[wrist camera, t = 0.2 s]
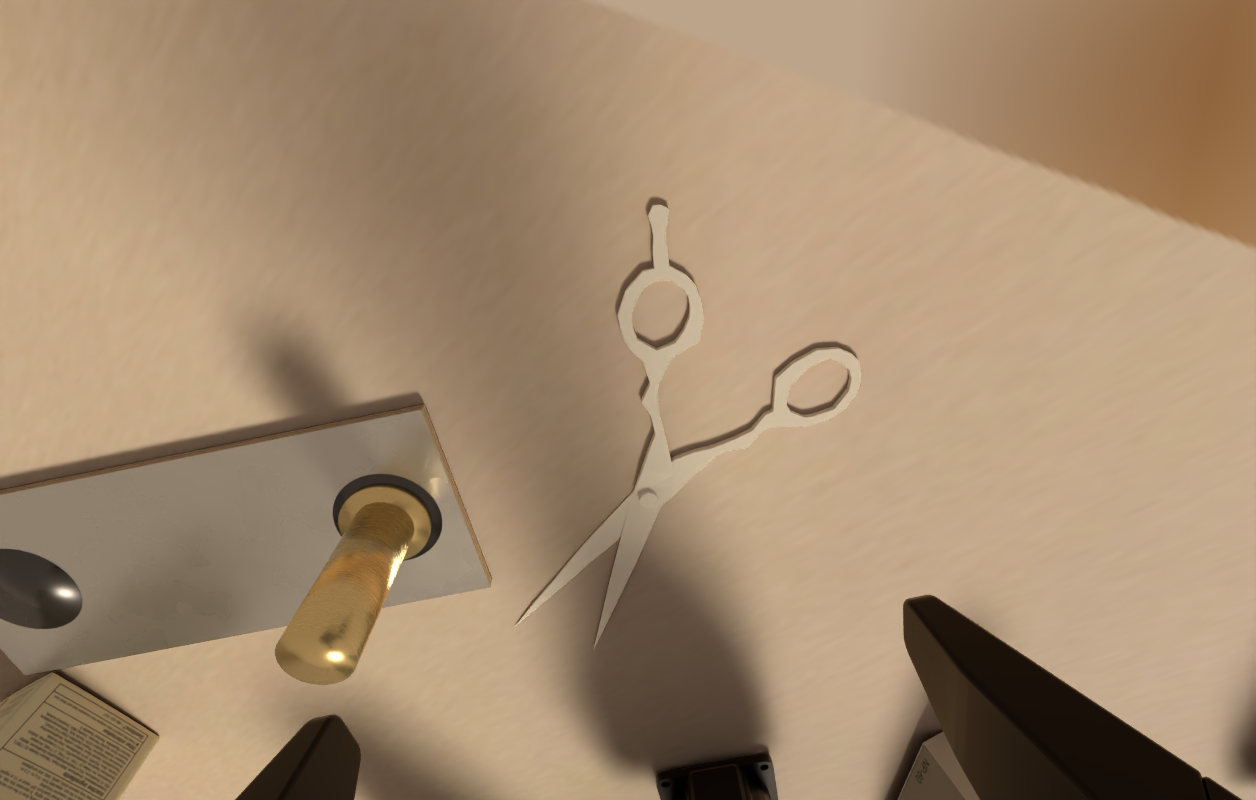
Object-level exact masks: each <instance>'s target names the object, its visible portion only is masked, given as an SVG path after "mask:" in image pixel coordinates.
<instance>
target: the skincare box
mask: <svg viewBox="0 0 1256 800" xmlns="http://www.w3.org/2000/svg"><path fill="white" fill-rule="evenodd" d="M158 740H159V737H158V736H157V735H156V734H154V733H153V732H151V731H149V730H148V729H146V728H145V727H143V726H142V725H140V724H138V723H137V722H135V721H133V720H132V719H130V718H129V717H127V716H125V715H124V714H122V713H120V712H119V711H117V710H115V709H114V708H112V707H110V706H109V705H107V704H105V703H104V702H102V701H101V700H99V699H97V698H96V697H94V696H92V695H91V694H89V693H88V692H86V691H84V690H83V689H81V688H79V687H77V686H76V685H74V684H72V683H70V682H69V681H67V680H65V679H64V678H62V677H60V676H58V675H57V674H55V673H49V674H47V675H45V676H43V677H42V678H40V679H38V680H36V681H34V682H33V683H31V684H29V685H27V686H26V687H24V688H22V689H21V690H19V691H17V692H16V693H14V694H12V695H11V696H9V697H8V698H6V699H5V700H3V701H2V702H0V800H119V799H120V797H121V796H122V794H123V793H124V791H125V790H126V788H127V786H128V785H129V783H130V782H131V780H132V779H133V777H134V776H135V774H136V773H137V771H138V770H139V768H140V767H141V765H142V764H143V762H144V761H145V760H146V758H147V756H148V755H149V753H150V752H151V750H152V749H153V748H154V746H155V745H156V743H157V742H158Z"/></svg>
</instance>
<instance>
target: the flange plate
mask: <svg viewBox="0 0 1256 800" xmlns="http://www.w3.org/2000/svg"><path fill="white" fill-rule="evenodd" d="M373 483H391V484H396V485H399V486H402V487H405V488H407V489H409V490H411V491H412V492H414V493H415V494H417V495H418V496H419V497H420V498H421V499H422V500H423V501H424V502H425V503H426V505H427V506H428V508H429V510H430V513H431V516H432V530H431V533H430V536H429V538H428V541H427V543H426V545H425V546H424V547H423V549H422V550H421V551H420V552H419V553H417V554H416V555H414V556H412V557H410V558H408V559H405V560H403V561H402V563H401V565H400V568H399V570H398V572H397V574H396V577H395V579H394V581H393V584H392V586H391V588H390V590H389V593H388V595H387V597H386V600H385V602H384V604H383V606H382V608H384V607H389V606H395V605H400V604H405V603H410V602H416V601H421V600H426V599H431V598H437V597H442V596H447V595H453V594H458V593H463V592H468V591H474V590H479V589H484V588H489V587H491V582H492V578H491V575H490V573H489V570H488V568H487V565H486V562H485V560H484V557H483V555H482V552H481V549H480V547H479V544H478V542H477V539H476V536H475V534H474V531H473V529H472V526H471V524H470V521H469V518H468V516H467V513H466V511H465V508H464V505H463V503H462V500H461V498H460V495H459V492H458V490H457V487H456V485H455V482H454V480H453V477H452V474H451V472H450V469H449V467H448V464H447V461H446V459H445V456H444V454H443V451H442V448H441V446H440V443H439V441H438V438H437V435H436V433H435V430H434V428H433V425H432V423H431V420H430V417H429V415H428V412H427V410H426V407H425V404H422V405H418V406H413V407H408V408H403V409H398V410H393V411H388V412H383V413H378V414H373V415H368V416H363V417H358V418H353V419H349V420H344V421H339V422H334V423H329V424H324V425H319V426H314V427H309V428H304V429H299V430H294V431H289V432H284V433H280V434H275V435H270V436H265V437H260V438H255V439H250V440H245V441H240V442H235V443H230V444H225V445H220V446H215V447H211V448H206V449H201V450H196V451H191V452H186V453H181V454H176V455H171V456H166V457H161V458H156V459H151V460H146V461H142V462H137V463H132V464H127V465H122V466H117V467H112V468H107V469H102V470H97V471H92V472H87V473H82V474H77V475H73V476H68V477H63V478H58V479H53V480H48V481H43V482H38V483H33V484H28V485H23V486H18V487H13V488H8V489H4V490H0V649H1V650H2V651H3V652H4V654H5V655H6V656H7V657H8V658H9V659H10V660H11V661H12V662H13V663H14V664H15V666H16V667H17V668H18V669H19V670H20V671H21V672H22V673H23V674H24V675H25V676H26V675H31V674H36V673H41V672H47V671H52V670H57V669H62V668H68V667H73V666H78V665H83V664H89V663H94V662H99V661H105V660H110V659H115V658H120V657H126V656H131V655H136V654H141V653H147V652H152V651H157V650H163V649H168V648H173V647H178V646H184V645H189V644H194V643H199V642H205V641H210V640H215V639H221V638H226V637H231V636H236V635H242V634H247V633H252V632H257V631H263V630H268V629H273V628H279V627H284V626H288V625H289V623H290V622H291V620H292V618H293V617H294V615H295V613H296V612H297V610H298V609H299V607H300V605H301V604H302V602H303V600H304V599H305V597H306V595H307V594H308V592H309V590H310V589H311V587H312V586H313V584H314V582H315V581H316V579H317V577H318V576H319V574H320V572H321V571H322V569H323V567H324V566H325V564H326V563H327V561H328V559H329V558H330V556H331V554H332V553H333V551H334V549H335V548H336V546H337V544H338V543H339V541H340V540H341V538H342V535H341V532H340V529H339V525H338V517H339V512H340V510H341V508H342V506H343V505H344V503H345V502H346V500H347V499H348V497H349V496H350V495H351V494H352V493H353V492H354V491H355V490H357V489H359V488H360V487H363V486H365V485H369V484H373Z"/></svg>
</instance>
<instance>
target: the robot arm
mask: <svg viewBox="0 0 1256 800" xmlns="http://www.w3.org/2000/svg"><path fill="white" fill-rule="evenodd" d="M903 626H904V641H905V645H906V648H907V651H908V654H909V656H910V658H911V660H912V663H913V665H914V667H915V669H916V672H917V674H918V676H919V678H920V680H921V683H922V685H923V687H924V689H925V691H926V694H927V696H928V698H929V700H930V703H931V705H932V707H933V709H934V711H935V714H936V716H937V718H938V720H939V723H940V725H941V727H942V729H943V731H944V734H945V736H946V738H947V740H948V742H949V744H950V747H951V749H952V751H953V753H954V755H955V757H956V759H957V760H958V762H959V764H960V766H961V768H962V770H963V772H964V773H965V775H966V777H967V778H968V780H969V782H970V784H971V785H972V787H973V789H974V791H975V792H976V794H977V796H978V798H979V799H980V800H1242V799H1240V798H1239V797H1237V796H1236V795H1234V794H1233V793H1231V792H1230V791H1228V790H1227V789H1225V788H1224V787H1222V786H1221V785H1219V784H1218V783H1216V782H1215V781H1213V780H1212V779H1210V778H1208V777H1203V778H1202V776H1201V774H1200V772H1199V771H1198V770H1196V769H1195V768H1193V767H1192V766H1190V765H1189V764H1187V763H1186V762H1184V761H1183V760H1181V759H1180V758H1178V757H1177V756H1175V755H1174V754H1172V753H1171V752H1169V751H1168V750H1166V749H1165V748H1163V747H1162V746H1160V745H1159V744H1157V743H1156V742H1154V741H1153V740H1151V739H1150V738H1148V737H1147V736H1145V735H1143V734H1142V733H1140V732H1139V731H1137V730H1136V729H1134V728H1133V727H1131V726H1130V725H1128V724H1127V723H1125V722H1124V721H1122V720H1121V719H1119V718H1118V717H1116V716H1115V715H1113V714H1112V713H1110V712H1109V711H1107V710H1106V709H1104V708H1103V707H1101V706H1100V705H1098V704H1097V703H1095V702H1094V701H1092V700H1091V699H1089V698H1088V697H1086V696H1085V695H1083V694H1082V693H1080V692H1079V691H1077V690H1076V689H1074V688H1073V687H1071V686H1070V685H1068V684H1067V683H1065V682H1064V681H1062V680H1061V679H1059V678H1058V677H1056V676H1055V675H1053V674H1052V673H1050V672H1048V671H1047V670H1045V669H1044V668H1042V667H1041V666H1039V665H1038V664H1036V663H1035V662H1033V661H1032V660H1030V659H1029V658H1027V657H1026V656H1024V655H1023V654H1021V653H1020V652H1018V651H1017V650H1015V649H1014V648H1012V647H1011V646H1009V645H1008V644H1006V643H1005V642H1003V641H1002V640H1000V639H999V638H997V637H996V636H994V635H993V634H991V633H990V632H988V631H987V630H985V629H984V628H982V627H981V626H979V625H978V624H976V623H975V622H973V621H972V620H970V619H969V618H967V617H966V616H964V615H963V614H961V613H960V612H958V611H957V610H955V609H954V608H952V607H950V606H949V605H947V604H946V603H944V602H943V601H941V600H940V599H938V598H937V597H935V596H932V595H924V596H919V597H914V598H909V599H906V600H905V601H904V604H903ZM360 761H361V753H360V748H359V745H358V743H357V741H356V740H355V738H354V737H353V735H352V734H351V732H350V731H349V729H348V728H347V726H346V725H345V723H344V722H343V720H342V719H341V718H340V717H339V716H337V715H328V716H323V717H318V718H314V719H312V720H310V721H308V722H307V723H306V724H305V725H304V726H303V727H302V728H301V729H300V730H299V731H298V732H297V733H296V734H295V736H294V737H293V738H292V739H291V740H290V741H289V742H288V743H287V744H286V745H285V746H284V747H283V749H282V750H281V751H280V752H279V753H278V754H277V755H276V756H275V757H274V758H273V759H272V760H271V762H270V763H269V764H268V765H267V766H266V767H265V768H264V769H263V770H262V771H261V772H260V773H259V775H258V776H257V777H256V778H255V779H254V780H253V781H252V782H251V783H250V784H249V785H248V786H247V788H246V789H245V790H244V791H243V792H242V793H241V794H240V795H239V796H238V797H237V798H236V799H235V800H354V797H355V791H356V785H357V779H358V773H359V767H360ZM656 782H657V788H658V792H659V795H660V799H661V800H778V796H777V789H776V782H775V775H774V768H773V763H772V760H771V757H770V756H768V755H757V756H751V757H746V758H740V759H734V760H729V761H723V762H717V763H711V764H706V765H700V766H694V767H689V768H683V769H677V770H671V771H666V772H662V773H659V774H658V775H657V776H656Z"/></svg>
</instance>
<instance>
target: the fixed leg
mask: <svg viewBox="0 0 1256 800" xmlns="http://www.w3.org/2000/svg"><path fill="white" fill-rule="evenodd" d="M338 525H339V529H340V532H341V535H342V538H341V540H340V541H339V543H338V544H337V546H336V548H335V549H334V551H333V553H332V554H331V556H330V558H329V559H328V561H327V563H326V564H325V566H324V567H323V569H322V571H321V572H320V574H319V576H318V577H317V579H316V581H315V582H314V584H313V586H312V587H311V589H310V590H309V592H308V594H307V595H306V597H305V599H304V600H303V602H302V604H301V605H300V607H299V609H298V610H297V612H296V613H295V615H294V617H293V618H292V620H291V622H290V623H289V625H288V627H287V628H286V630H285V632H284V633H283V635H282V636H281V638H280V640H279V641H278V643H277V645H276V649H275V656H276V659H277V662H278V663H279V665H280V666H281V668H282V669H283V670H284V671H285V672H286V673H288V674H289V675H290V676H292V677H294V678H296V679H298V680H300V681H303V682H306V683H310V684H317V685H328V684H334V683H338V682H341V681H343V680H345V679H346V678H348V677H349V676H350V675H351V674H352V673H353V672H354V670H355V668H356V666H357V663H358V661H359V659H360V657H361V654H362V652H363V650H364V647H365V645H366V643H367V641H368V638H369V636H370V634H371V632H372V629H373V627H374V625H375V622H376V620H377V618H378V616H379V613H380V611H381V609H382V606H383V604H384V602H385V600H386V597H387V595H388V593H389V590H390V588H391V586H392V584H393V581H394V579H395V577H396V574H397V572H398V570H399V568H400V565H401V563H402V561H403V560H405V559H408V558H410V557H412V556H414V555H416V554H417V553H419V552H420V551H421V550H422V549H423V547H424V546H425V545H426V543H427V541H428V538H429V536H430V533H431V530H432V516H431V513H430V510H429V508H428V506H427V505H426V503H425V502H424V501H423V500H422V499H421V498H420V497H419V496H418V495H417V494H415V493H414V492H412V491H411V490H409V489H407V488H405V487H402V486H399V485H396V484H391V483H373V484H369V485H365V486H363V487H360V488H359V489H357V490H355V491H354V492H353V493H352V494H351V495H350V496H349V497H348V499H347V500H346V502H345V503H344V505H343V506H342V508H341V510H340V512H339V517H338Z"/></svg>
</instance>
